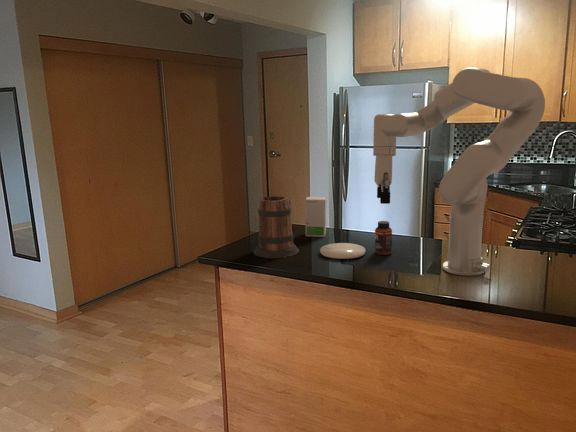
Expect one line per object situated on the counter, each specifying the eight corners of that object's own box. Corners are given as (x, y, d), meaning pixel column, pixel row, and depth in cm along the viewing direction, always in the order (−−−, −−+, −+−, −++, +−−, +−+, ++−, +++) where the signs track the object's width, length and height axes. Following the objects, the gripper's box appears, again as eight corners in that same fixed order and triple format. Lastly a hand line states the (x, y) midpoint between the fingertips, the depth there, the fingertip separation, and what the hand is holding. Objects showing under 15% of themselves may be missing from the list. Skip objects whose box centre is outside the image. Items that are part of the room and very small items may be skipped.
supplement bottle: (394, 251, 168) (394, 221, 166) (388, 256, 164) (388, 224, 161) (378, 249, 172) (378, 219, 169) (372, 254, 167) (372, 223, 164)
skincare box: (305, 236, 192) (304, 199, 189) (307, 232, 198) (306, 196, 195) (325, 237, 191) (325, 199, 187) (327, 233, 197) (326, 196, 194)
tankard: (288, 260, 163) (286, 203, 159) (245, 255, 170) (242, 201, 165) (311, 242, 184) (310, 191, 180) (272, 238, 191) (270, 190, 186)
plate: (374, 254, 166) (374, 250, 165) (338, 263, 158) (338, 258, 157) (346, 244, 179) (346, 240, 179) (311, 252, 171) (311, 247, 171)
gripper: (370, 149, 168) (369, 196, 172) (376, 153, 152) (375, 205, 156) (392, 148, 168) (390, 195, 172) (399, 153, 151) (398, 205, 155)
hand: (383, 200), depth 164 cm, fingers open, 9 cm apart
